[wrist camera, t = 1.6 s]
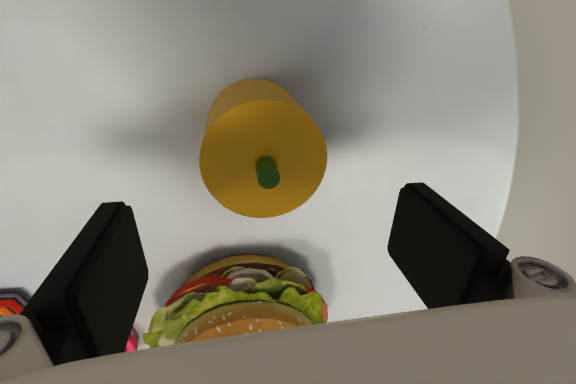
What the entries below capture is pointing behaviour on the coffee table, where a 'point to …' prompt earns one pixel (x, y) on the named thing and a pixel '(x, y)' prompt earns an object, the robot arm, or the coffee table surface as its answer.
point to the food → (237, 302)
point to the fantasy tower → (11, 304)
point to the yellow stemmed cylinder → (261, 150)
